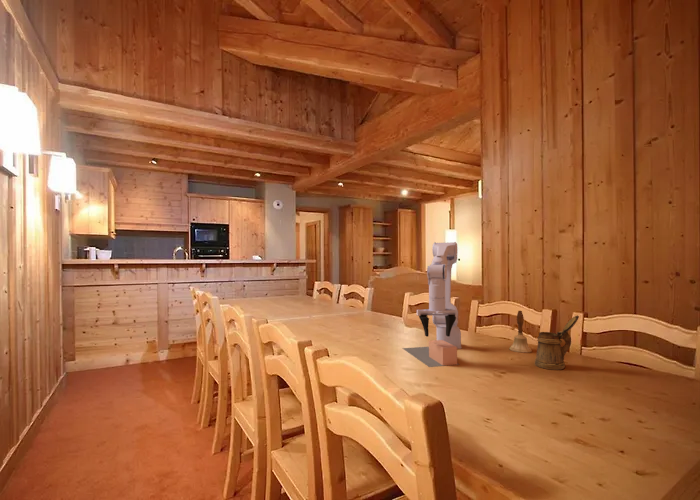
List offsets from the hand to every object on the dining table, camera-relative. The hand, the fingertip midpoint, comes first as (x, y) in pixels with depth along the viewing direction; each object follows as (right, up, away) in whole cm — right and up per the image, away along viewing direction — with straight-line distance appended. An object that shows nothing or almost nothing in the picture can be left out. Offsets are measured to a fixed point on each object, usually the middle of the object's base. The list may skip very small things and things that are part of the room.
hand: (437, 336), depth 126 cm
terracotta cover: (+2, -9, +1) cm, 9 cm away
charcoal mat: (-1, -10, +7) cm, 12 cm away
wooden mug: (+40, -10, -5) cm, 41 cm away
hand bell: (+38, -10, +17) cm, 43 cm away
